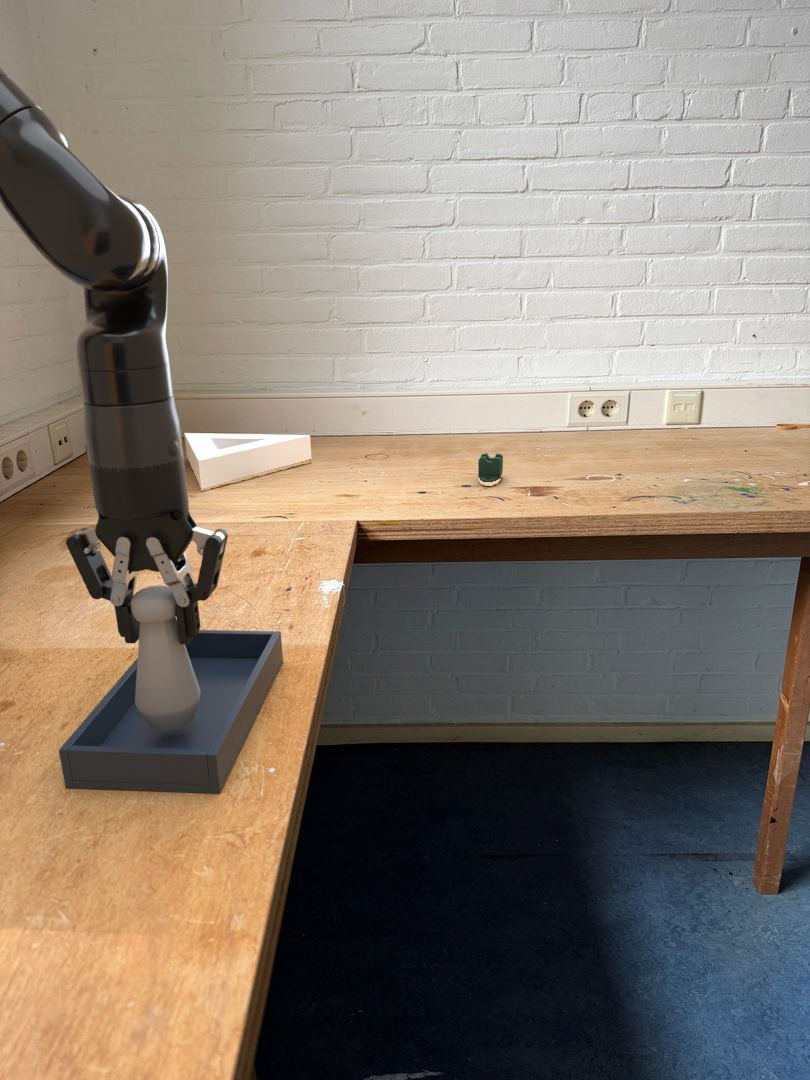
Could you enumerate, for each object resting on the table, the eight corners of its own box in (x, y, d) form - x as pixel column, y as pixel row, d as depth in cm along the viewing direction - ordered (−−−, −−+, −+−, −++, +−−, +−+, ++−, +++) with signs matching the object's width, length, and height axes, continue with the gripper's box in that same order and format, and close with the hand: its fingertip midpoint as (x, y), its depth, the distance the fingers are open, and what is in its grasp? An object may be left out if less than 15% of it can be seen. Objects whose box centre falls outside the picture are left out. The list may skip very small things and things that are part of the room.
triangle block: (311, 463, 180) (310, 435, 178) (273, 494, 156) (271, 462, 154) (187, 459, 185) (184, 432, 183) (131, 489, 161) (127, 459, 159)
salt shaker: (159, 744, 71) (141, 609, 66) (126, 721, 74) (107, 592, 70) (215, 717, 75) (201, 588, 70) (181, 697, 78) (166, 573, 74)
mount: (498, 487, 157) (498, 462, 156) (475, 486, 158) (476, 461, 157) (504, 473, 167) (504, 450, 166) (483, 472, 168) (483, 449, 167)
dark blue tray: (65, 788, 68) (58, 750, 67) (165, 659, 91) (161, 629, 89) (220, 793, 67) (215, 755, 66) (283, 661, 89) (280, 631, 88)
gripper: (233, 444, 69) (249, 623, 75) (74, 444, 70) (102, 621, 76) (206, 464, 62) (226, 661, 68) (30, 464, 63) (64, 658, 69)
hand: (160, 639), depth 72 cm, fingers closed on salt shaker, 4 cm apart
